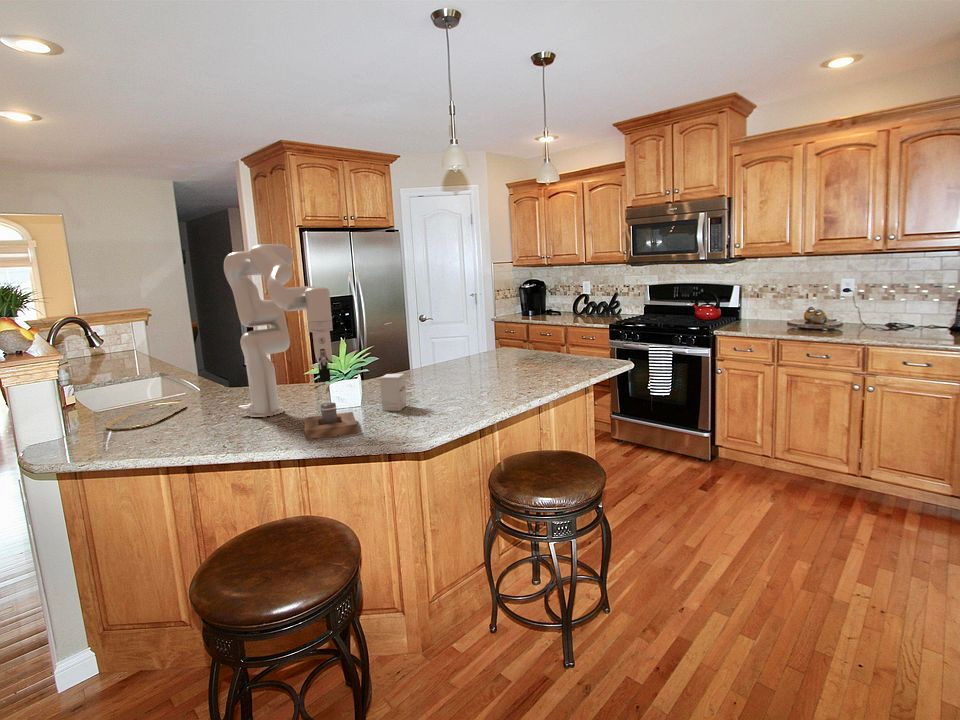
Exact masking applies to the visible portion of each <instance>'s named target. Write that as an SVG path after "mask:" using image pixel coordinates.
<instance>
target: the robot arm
mask: <svg viewBox="0 0 960 720" xmlns="http://www.w3.org/2000/svg"><path fill="white" fill-rule="evenodd" d="M293 254H294V253H293V252H292V249H291V248H290V247H289V246H288V245H285V244H282V243H264V244H263V243H262V244H261V243H260V244H257V245H256V244H255V246H253V247H251V249H250V250H249V251H247V250H246V251H242V250H241V251H234V252H231V253H228V254H227V255H226V256H225V258H224V260H223V273H224V275H225V278H226V281H227V282H228V285H229V286H230V288H231V290H232V294H233V298H234V303H235V307H236V311H237V314H238V319H239V322H240V323H241V325H242V326H243V327H247V328H253V327H254V328H255V327H264V326H268V327H269V328H263V329H255V330H249V331H247V332H245V333H243V334H242V335H241V337H240V341H239V343H240V347H241V350H242V355H243V356H244V361H245V367H246V375H247V380H248V381H247V382H248V389H249V396H250V403H248V404H247V405H239V406H238V411H239V412H247V416H248V417H249V416H250V417H249V418H252V417H263V418H268V417H267V416H270V417H274V416H273V415H275V416H278V415H280V413H281V414H282V413H283V412H285V409H284V407H283V406H280V405H279V396H278V395H279V394H278V387H277V385H278V384H277V378H276V369H275V365H274V363H273V362H272V361H271V359H270V358H269V357H268V355H271V354H272V355H273V354H278V353H283V352H286V351H287V350H289V348H290V345H291V339H290V333H289V330H288V324H287V320H286V315H285V312H294V311H304V310H305V311H306V320H307V321H306V322H307V330H308V331H307V332H308V333H312V339H313V340H312V341H313V349H314V355H315V359H316V362H317V363H318V364H317V367H318V375H319V381H320V383H325V382H331V370H330V368H329V367H330V365H329V361H330V362H332V361H333V354H332V352H333V351H332V342H331V341H332V339H331V333H330V332H331V331H333V330H334V329H333V317H332V308H331V307H332V306H331V295H330V294H331V293H330V290H329V289H328V288H327V287H323V286H321V287H320V286H317V287H316V286H312V285H305V286H291V287H289V286H288V287H286V286H284V285H285V284H287V283H288V282H289V281H290V280H291V279H292V277H293V276H292V275H293V269H292V267H291V266H292V265H293V262H294V255H293ZM261 275H263V276H264V277H265V278H266V280H267V281H266V291H267V294H268V297H269V298H270V299H261V296H260V294H259V293H260V292H259V288H258V287H257V285H256V284H255V283H254V282H253V280H252V279H250V278H249V277H248V276H261ZM277 414H278V415H277Z"/></svg>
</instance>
